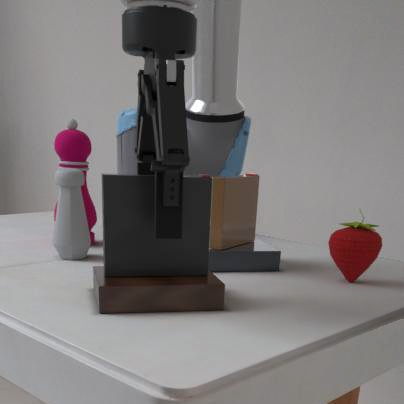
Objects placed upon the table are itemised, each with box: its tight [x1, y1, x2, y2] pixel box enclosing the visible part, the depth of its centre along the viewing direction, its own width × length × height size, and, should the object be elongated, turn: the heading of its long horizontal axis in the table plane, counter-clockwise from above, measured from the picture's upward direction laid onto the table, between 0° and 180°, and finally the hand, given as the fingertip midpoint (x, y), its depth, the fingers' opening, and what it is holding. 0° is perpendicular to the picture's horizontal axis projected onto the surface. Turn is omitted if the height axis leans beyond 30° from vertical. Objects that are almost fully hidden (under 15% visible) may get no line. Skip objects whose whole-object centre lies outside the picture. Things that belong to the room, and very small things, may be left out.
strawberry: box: [327, 208, 383, 283], centre depth 78 cm, size 6×8×10 cm
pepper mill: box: [53, 118, 98, 246], centre depth 95 cm, size 7×7×20 cm
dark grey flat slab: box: [101, 173, 213, 277], centre depth 64 cm, size 12×2×11 cm, turn 103°
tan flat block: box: [209, 172, 260, 250], centre depth 85 cm, size 11×2×10 cm, turn 149°
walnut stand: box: [92, 265, 226, 314], centre depth 66 cm, size 14×10×3 cm
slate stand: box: [208, 238, 282, 273], centre depth 87 cm, size 12×10×3 cm
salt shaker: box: [52, 168, 92, 261], centre depth 85 cm, size 6×6×13 cm
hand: (157, 227), depth 64 cm, fingers open, 13 cm apart
